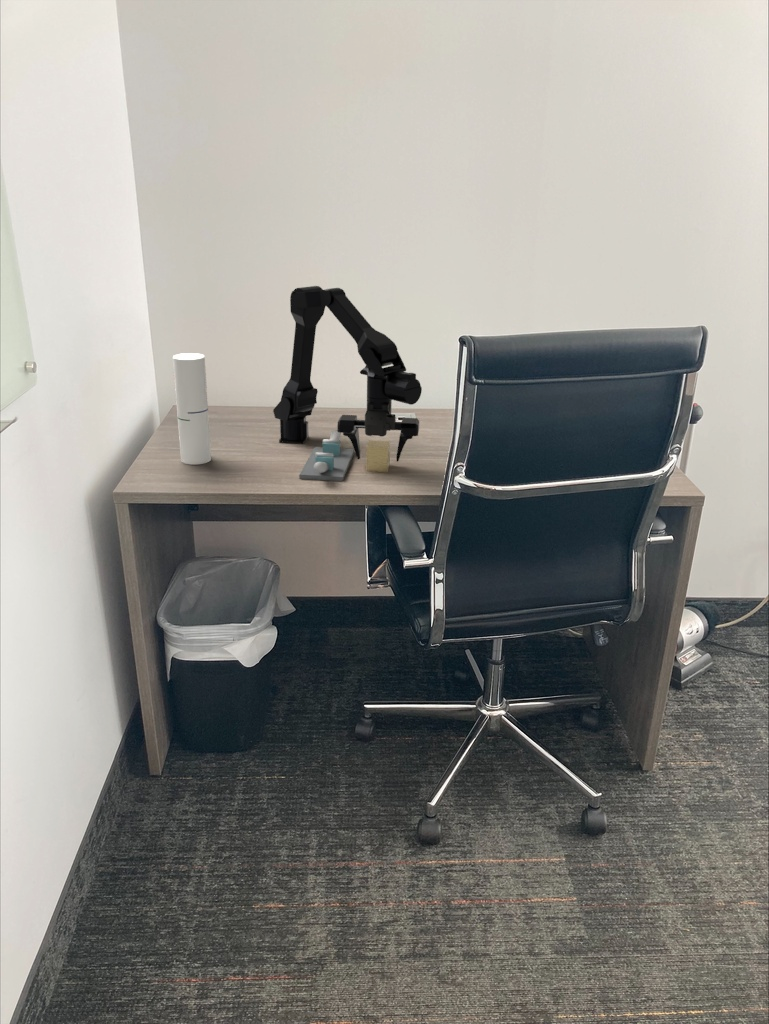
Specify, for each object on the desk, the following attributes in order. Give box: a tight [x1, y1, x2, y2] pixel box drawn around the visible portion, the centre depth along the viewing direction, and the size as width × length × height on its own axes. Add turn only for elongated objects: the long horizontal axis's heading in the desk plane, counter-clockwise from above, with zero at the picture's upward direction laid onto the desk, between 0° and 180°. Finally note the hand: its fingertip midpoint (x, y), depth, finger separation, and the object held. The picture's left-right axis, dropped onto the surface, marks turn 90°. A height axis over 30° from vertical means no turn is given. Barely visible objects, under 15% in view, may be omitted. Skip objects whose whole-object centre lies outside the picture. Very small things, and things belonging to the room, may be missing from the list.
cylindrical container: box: [172, 352, 212, 466], centre depth 190 cm, size 7×7×25 cm
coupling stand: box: [298, 429, 355, 482], centre depth 192 cm, size 10×26×5 cm, turn 175°
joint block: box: [365, 440, 391, 473], centre depth 191 cm, size 5×5×6 cm
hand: (378, 460), depth 191 cm, fingers open, 9 cm apart
